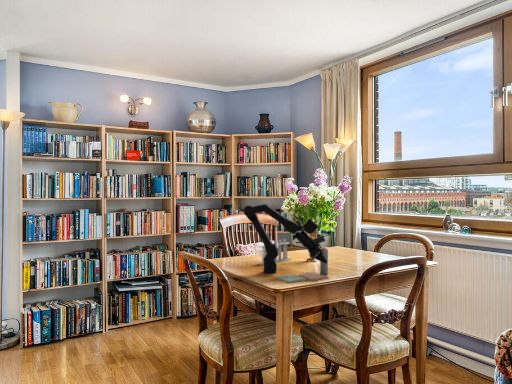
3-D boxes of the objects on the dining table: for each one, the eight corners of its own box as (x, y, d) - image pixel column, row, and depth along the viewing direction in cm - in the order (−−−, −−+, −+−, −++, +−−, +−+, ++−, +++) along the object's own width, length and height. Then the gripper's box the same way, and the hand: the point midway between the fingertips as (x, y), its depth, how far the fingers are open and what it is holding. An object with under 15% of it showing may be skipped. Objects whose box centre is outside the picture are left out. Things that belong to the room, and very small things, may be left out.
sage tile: (288, 283, 191) (288, 281, 191) (275, 278, 200) (275, 276, 200) (306, 280, 197) (306, 278, 197) (292, 276, 206) (292, 274, 206)
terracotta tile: (312, 280, 196) (312, 278, 196) (298, 276, 206) (298, 274, 206) (328, 278, 202) (328, 276, 202) (314, 274, 211) (314, 272, 211)
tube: (320, 274, 210) (321, 247, 210) (319, 273, 214) (319, 246, 214) (328, 274, 210) (328, 247, 210) (327, 273, 214) (327, 246, 214)
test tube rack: (285, 259, 256) (285, 238, 256) (290, 259, 253) (290, 239, 253) (258, 264, 239) (258, 242, 238) (264, 265, 236) (264, 243, 235)
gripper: (316, 231, 203) (338, 253, 202) (315, 228, 221) (336, 248, 220) (301, 246, 204) (323, 268, 203) (301, 241, 223) (321, 261, 221)
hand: (326, 261), depth 212 cm, fingers open, 9 cm apart
